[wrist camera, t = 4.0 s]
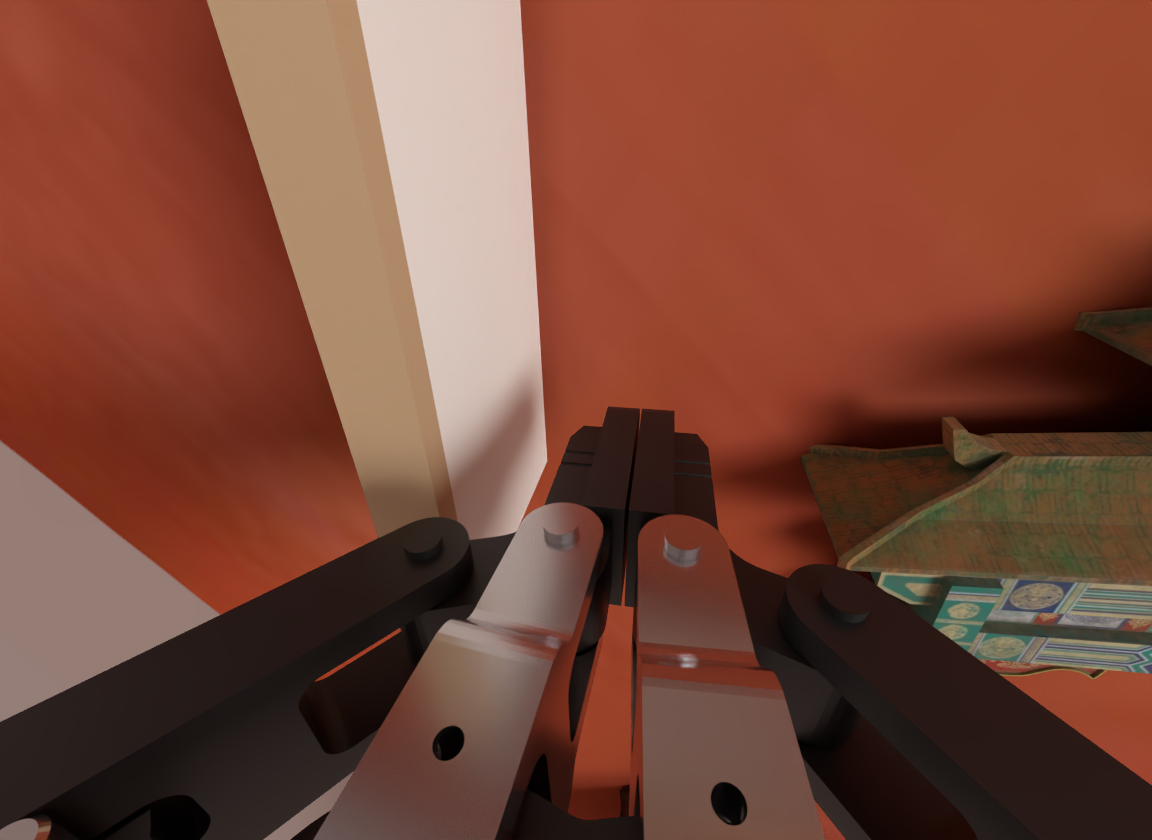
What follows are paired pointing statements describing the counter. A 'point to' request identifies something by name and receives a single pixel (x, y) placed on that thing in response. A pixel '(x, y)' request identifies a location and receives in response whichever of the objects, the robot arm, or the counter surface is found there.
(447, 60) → the white flat block
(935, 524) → the miniature gate
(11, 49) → the counter surface
